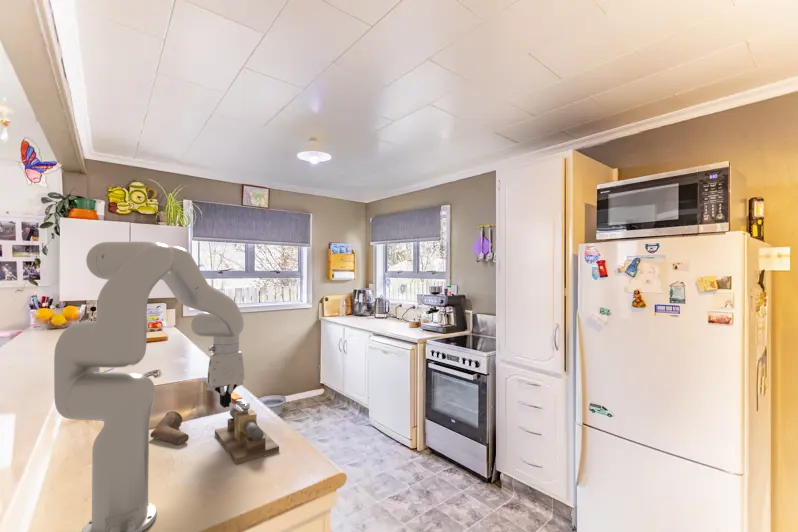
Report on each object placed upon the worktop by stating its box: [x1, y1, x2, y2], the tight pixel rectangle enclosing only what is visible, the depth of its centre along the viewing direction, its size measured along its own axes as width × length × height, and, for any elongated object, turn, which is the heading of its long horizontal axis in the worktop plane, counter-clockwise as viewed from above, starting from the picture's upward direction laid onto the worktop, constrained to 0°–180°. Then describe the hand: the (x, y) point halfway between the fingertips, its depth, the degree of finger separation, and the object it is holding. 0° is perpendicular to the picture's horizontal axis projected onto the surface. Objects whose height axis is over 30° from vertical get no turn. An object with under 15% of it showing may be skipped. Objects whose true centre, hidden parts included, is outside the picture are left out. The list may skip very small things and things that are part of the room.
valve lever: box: [230, 391, 251, 411], centre depth 122 cm, size 3×15×2 cm, turn 42°
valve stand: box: [214, 406, 280, 465], centre depth 117 cm, size 24×12×10 cm, turn 39°
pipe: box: [149, 410, 190, 446], centre depth 121 cm, size 6×17×10 cm
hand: (225, 406), depth 121 cm, fingers closed
